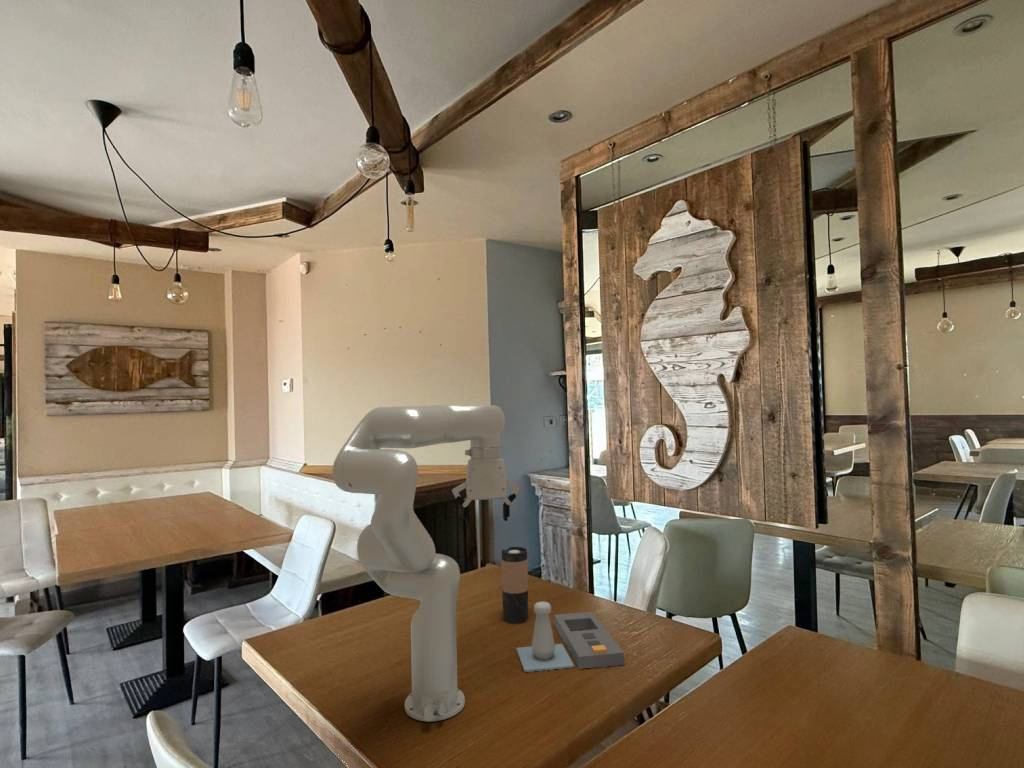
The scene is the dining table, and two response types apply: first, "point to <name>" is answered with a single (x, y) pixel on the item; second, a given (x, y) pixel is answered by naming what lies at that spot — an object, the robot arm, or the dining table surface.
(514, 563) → the travel mug
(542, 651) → the salt shaker
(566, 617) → the power strip
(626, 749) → the dining table surface
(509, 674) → the dining table surface
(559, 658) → the rubber mat
